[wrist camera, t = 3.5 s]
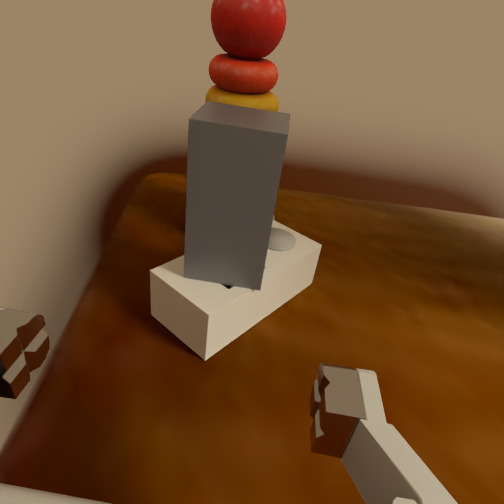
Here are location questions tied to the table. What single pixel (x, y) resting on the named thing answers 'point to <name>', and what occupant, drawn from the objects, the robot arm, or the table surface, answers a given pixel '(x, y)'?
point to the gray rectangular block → (232, 192)
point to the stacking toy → (246, 52)
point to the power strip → (231, 294)
